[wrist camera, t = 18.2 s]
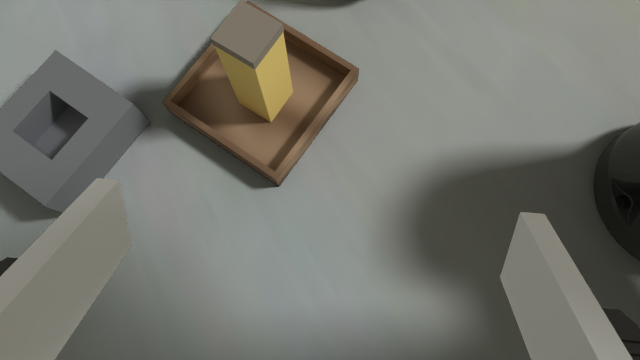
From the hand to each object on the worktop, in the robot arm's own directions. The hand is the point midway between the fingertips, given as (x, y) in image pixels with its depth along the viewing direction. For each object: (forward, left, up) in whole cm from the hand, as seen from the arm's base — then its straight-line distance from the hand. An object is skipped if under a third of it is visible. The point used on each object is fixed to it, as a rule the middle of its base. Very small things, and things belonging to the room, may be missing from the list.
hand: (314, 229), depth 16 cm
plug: (-12, -15, -29) cm, 35 cm away
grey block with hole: (+3, -29, -30) cm, 41 cm away
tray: (-12, -16, -30) cm, 36 cm away
